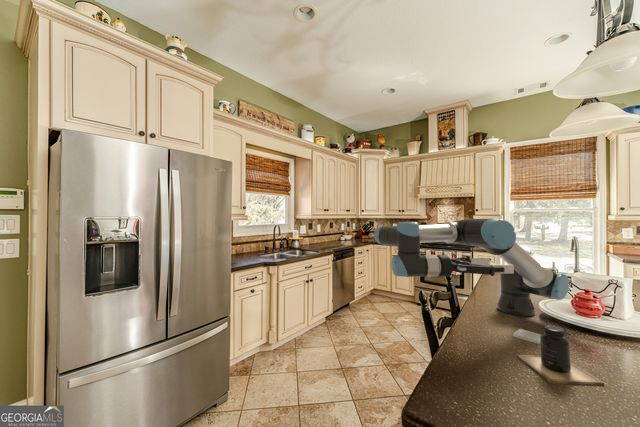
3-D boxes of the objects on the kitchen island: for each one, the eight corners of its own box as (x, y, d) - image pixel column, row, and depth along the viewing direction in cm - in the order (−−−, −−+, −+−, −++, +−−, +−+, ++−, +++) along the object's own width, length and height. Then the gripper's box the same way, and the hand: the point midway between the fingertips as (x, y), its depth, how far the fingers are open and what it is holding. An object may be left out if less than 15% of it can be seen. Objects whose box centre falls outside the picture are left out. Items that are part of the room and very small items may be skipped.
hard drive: (512, 333, 104) (554, 345, 94) (520, 328, 109) (560, 339, 99) (512, 337, 104) (554, 350, 94) (520, 332, 109) (560, 343, 99)
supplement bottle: (547, 359, 86) (546, 321, 86) (575, 370, 79) (574, 329, 80) (536, 364, 83) (535, 325, 83) (563, 376, 76) (562, 334, 77)
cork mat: (561, 358, 87) (561, 356, 87) (603, 385, 73) (603, 382, 73) (516, 357, 88) (516, 354, 88) (549, 382, 74) (549, 380, 74)
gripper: (426, 269, 106) (481, 268, 105) (452, 285, 81) (525, 285, 80) (425, 250, 106) (480, 249, 105) (451, 260, 81) (524, 260, 80)
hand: (500, 265), depth 92 cm, fingers open, 13 cm apart
